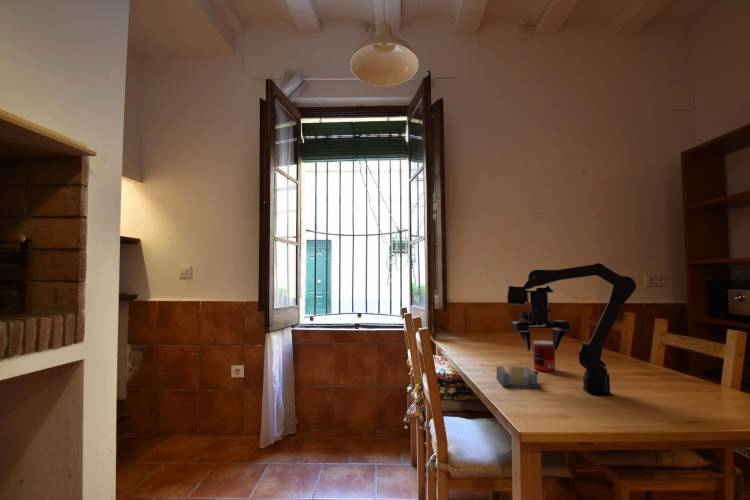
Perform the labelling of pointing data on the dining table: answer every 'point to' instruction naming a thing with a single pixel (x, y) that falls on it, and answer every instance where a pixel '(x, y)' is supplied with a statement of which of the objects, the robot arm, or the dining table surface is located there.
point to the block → (516, 373)
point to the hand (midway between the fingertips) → (541, 350)
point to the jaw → (530, 375)
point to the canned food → (544, 356)
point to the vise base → (507, 383)
